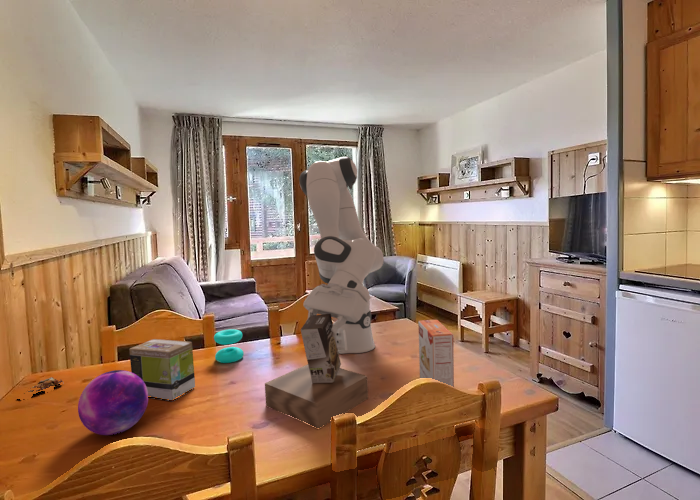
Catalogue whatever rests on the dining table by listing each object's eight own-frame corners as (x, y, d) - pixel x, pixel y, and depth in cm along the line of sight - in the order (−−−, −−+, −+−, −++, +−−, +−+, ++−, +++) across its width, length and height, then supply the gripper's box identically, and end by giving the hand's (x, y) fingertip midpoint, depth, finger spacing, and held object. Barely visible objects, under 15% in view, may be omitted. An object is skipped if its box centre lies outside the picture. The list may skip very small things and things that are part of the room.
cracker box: (418, 389, 118) (417, 319, 116) (438, 388, 119) (438, 318, 116) (432, 413, 104) (431, 334, 102) (455, 411, 105) (454, 333, 103)
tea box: (196, 387, 124) (193, 340, 123) (172, 402, 115) (168, 352, 113) (158, 382, 129) (154, 337, 128) (131, 396, 120) (127, 347, 118)
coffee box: (334, 383, 108) (322, 327, 104) (311, 383, 109) (299, 329, 105) (342, 364, 116) (331, 313, 112) (320, 365, 118) (309, 314, 114)
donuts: (239, 326, 153) (245, 333, 144) (240, 352, 154) (246, 360, 146) (211, 331, 149) (216, 338, 140) (213, 357, 150) (218, 366, 141)
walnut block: (266, 407, 111) (264, 383, 110) (316, 382, 126) (316, 360, 126) (318, 431, 98) (317, 404, 98) (367, 400, 114) (367, 376, 113)
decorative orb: (135, 445, 94) (129, 383, 92) (67, 450, 93) (60, 388, 91) (159, 413, 109) (155, 359, 107) (101, 417, 108) (96, 363, 106)
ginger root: (11, 401, 120) (9, 390, 120) (50, 383, 131) (48, 373, 131) (29, 403, 118) (27, 392, 118) (66, 385, 130) (65, 375, 129)
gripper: (313, 277, 122) (289, 315, 116) (364, 285, 109) (340, 329, 103) (324, 289, 126) (301, 327, 120) (375, 298, 112) (352, 341, 106)
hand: (319, 328), depth 111 cm, fingers open, 8 cm apart
